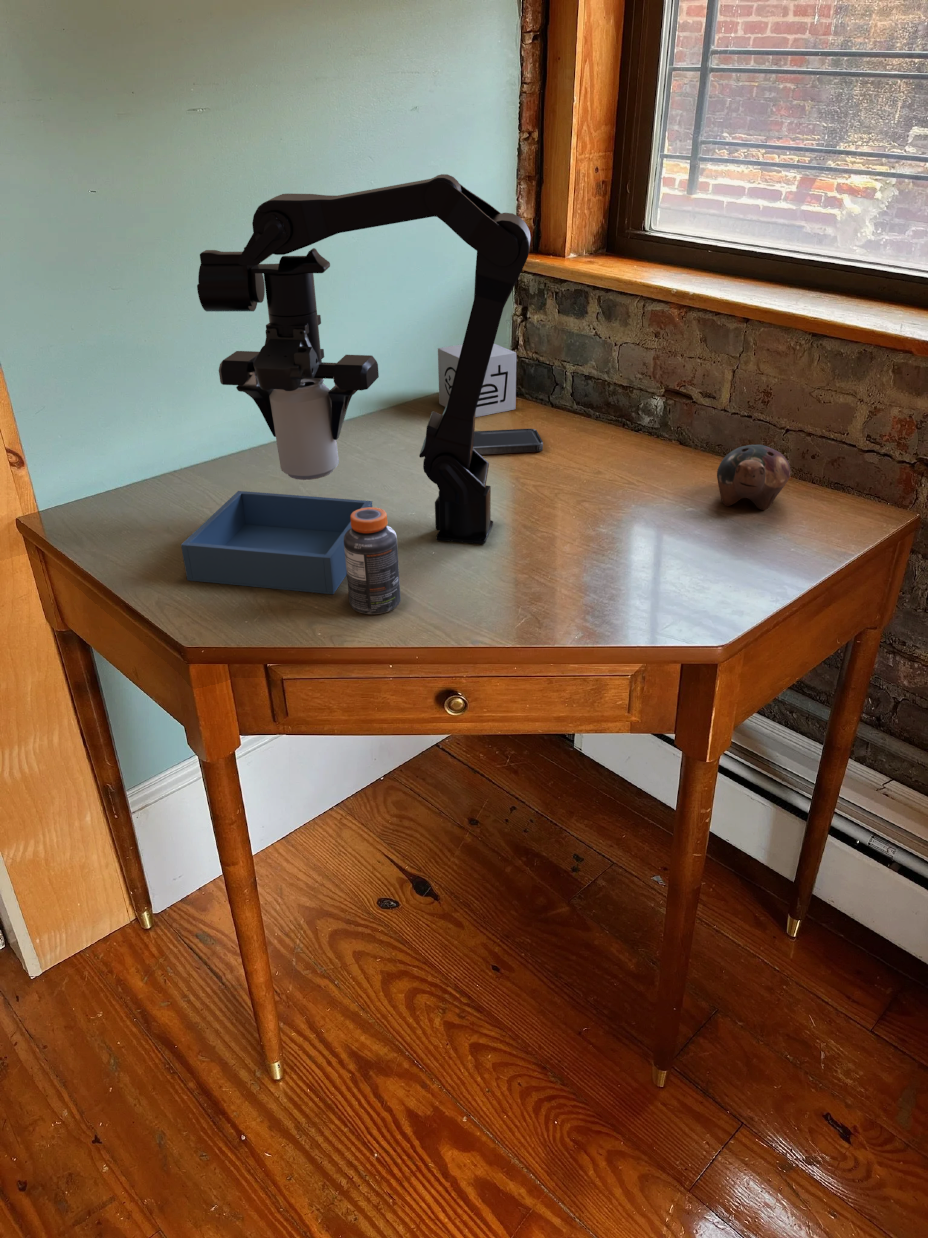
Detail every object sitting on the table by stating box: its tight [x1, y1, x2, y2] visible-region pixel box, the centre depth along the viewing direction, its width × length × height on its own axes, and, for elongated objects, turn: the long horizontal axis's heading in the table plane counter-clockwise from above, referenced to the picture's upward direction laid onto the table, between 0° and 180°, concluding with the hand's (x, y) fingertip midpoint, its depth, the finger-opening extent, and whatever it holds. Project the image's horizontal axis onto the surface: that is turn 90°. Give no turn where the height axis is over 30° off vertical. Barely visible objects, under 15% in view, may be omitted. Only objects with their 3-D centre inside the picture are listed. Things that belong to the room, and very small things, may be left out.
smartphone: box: [473, 428, 544, 456], centre depth 154 cm, size 8×1×15 cm
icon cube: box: [437, 343, 517, 418], centre depth 169 cm, size 10×10×10 cm
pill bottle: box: [344, 506, 402, 615], centre depth 107 cm, size 6×6×11 cm
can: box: [269, 378, 340, 481], centre depth 121 cm, size 8×8×12 cm
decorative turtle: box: [716, 444, 791, 511], centre depth 132 cm, size 10×15×8 cm, turn 163°
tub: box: [180, 490, 373, 595], centre depth 120 cm, size 19×17×5 cm
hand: (306, 437), depth 121 cm, fingers closed on can, 8 cm apart
